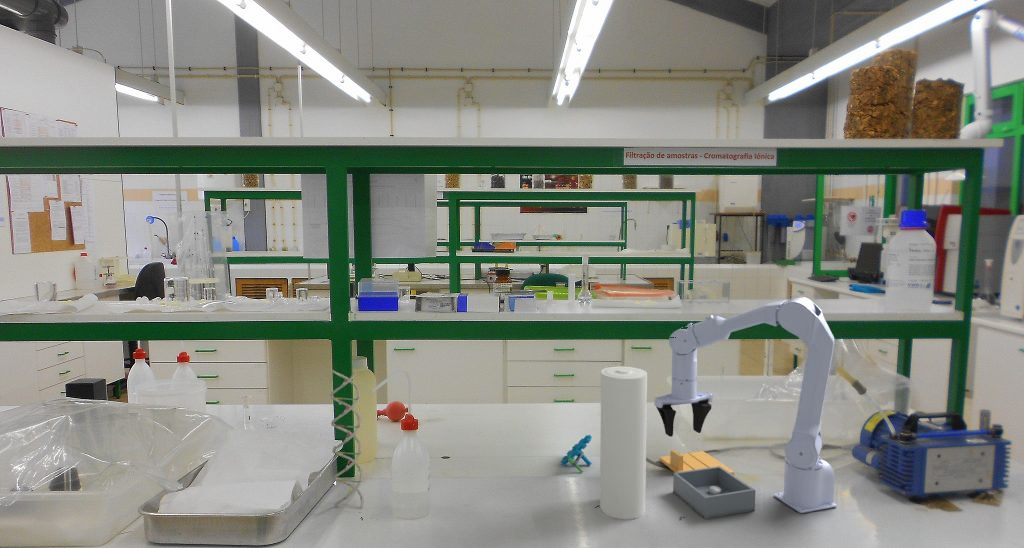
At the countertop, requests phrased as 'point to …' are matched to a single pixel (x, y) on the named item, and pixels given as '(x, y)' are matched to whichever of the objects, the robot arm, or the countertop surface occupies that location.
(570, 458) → the blue knobbly piece
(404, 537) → the countertop surface
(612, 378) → the cylinder container
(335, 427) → the dna model
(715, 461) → the lid
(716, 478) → the tub
